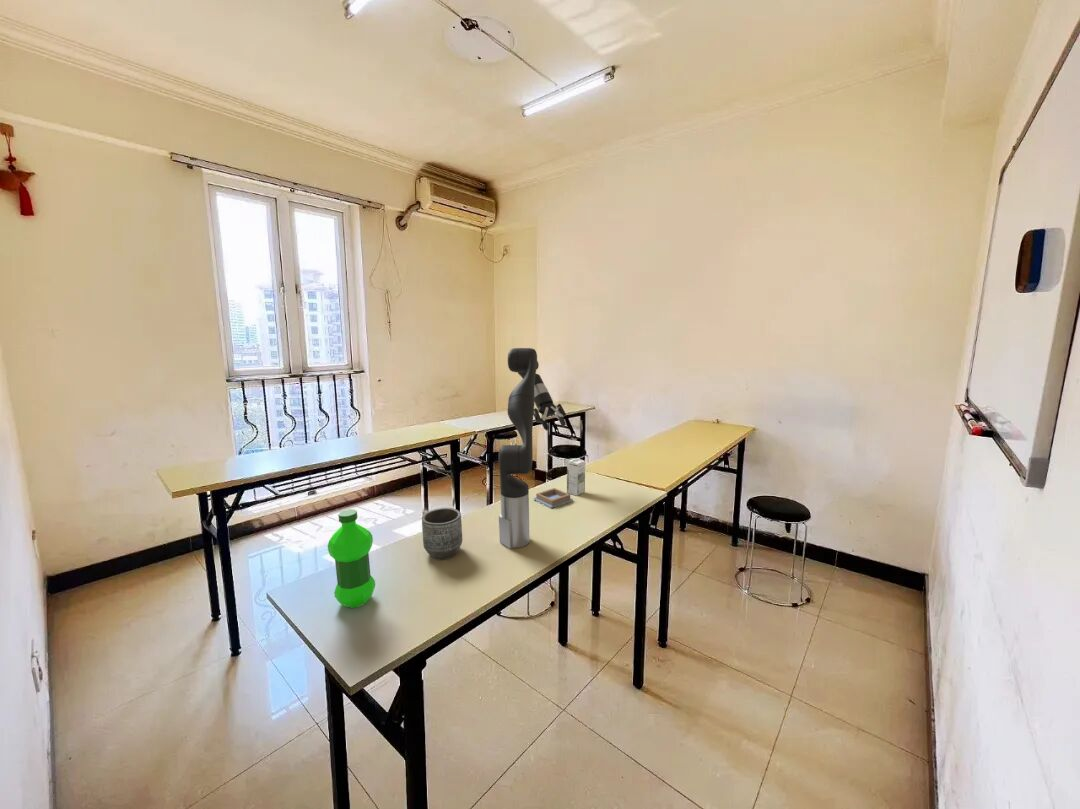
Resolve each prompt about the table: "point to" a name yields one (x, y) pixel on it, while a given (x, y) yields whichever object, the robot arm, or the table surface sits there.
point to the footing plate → (553, 497)
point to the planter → (442, 532)
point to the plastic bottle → (352, 561)
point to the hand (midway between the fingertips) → (556, 427)
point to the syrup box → (576, 477)
